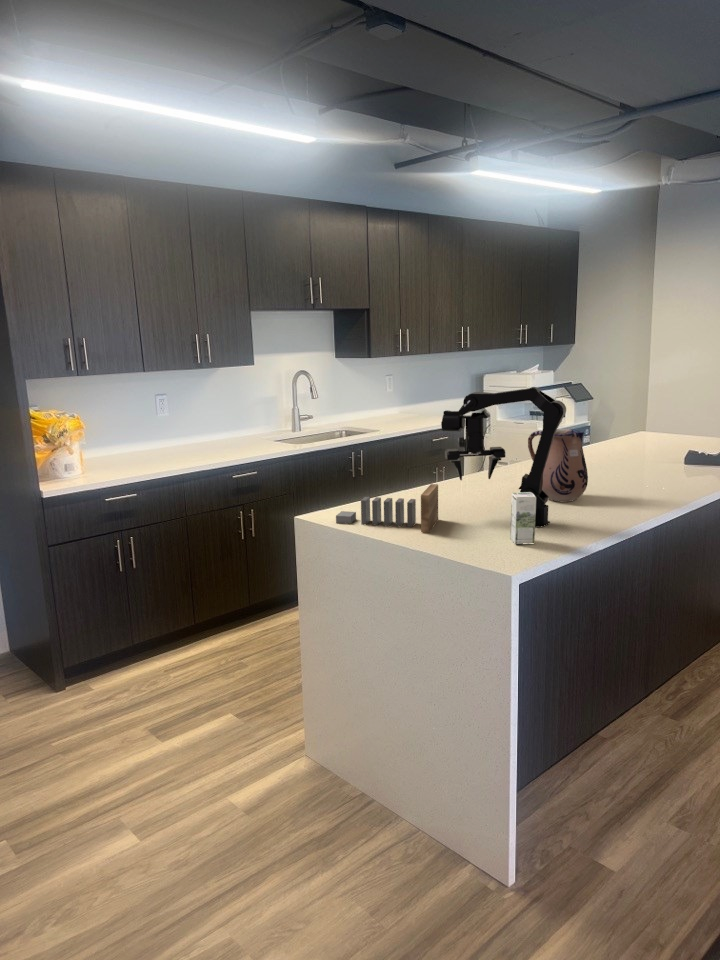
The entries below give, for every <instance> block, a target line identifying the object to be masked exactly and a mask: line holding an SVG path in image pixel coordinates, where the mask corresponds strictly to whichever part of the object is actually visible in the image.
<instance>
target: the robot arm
mask: <svg viewBox="0 0 720 960" xmlns="http://www.w3.org/2000/svg"><path fill="white" fill-rule="evenodd" d="M526 401H530V402H531V403H532V404H533V405H534V406H535V407H536V408H537V409H539V410H540V411H541V412H543V417H542V430H541V431H542V434H541V435H540V437H539V441H538V444H537V447H536V451H535V457H534V461H533V460H532V465H531V469H530V471H529V473H524V475H523V476H522V477H521V481H520V482H521V484H520V486H519V487H518V490H519V492H531V493H533V494H534V495H535V497H536V515H535V527H536V526H539V527H538V528H542V527H541V526H543V527H545V526H547V525H549V524H551V521H549V505H548V504H546V503H547V502H548V500H549V499H548V498H549V496H548V495H547V494H546V493H545V492H544V491H543V490H542V485H543V472H544V468H545V465H546V462H547V459H548V455H549V452H550V449H551V445H552V442H553V439H554V435H555V432H556V430H557V429H559V427H560V425H561V423H562V421H563V419H564V417H565V415H566V414H567V406H566V405H565V403H564V402H563V401H561V400H558V399H557V400H555V399H554V398H553V397H551V396H550V395H548V394H547V393H545V392H543V391H542V390H540V388H539V387H536V386H531V387H527V388H520V389H513V390H507V391H500V392H486V391H485V392H484V391H474V392H470V393H468V394H466V395H465V397H464V398H463V402H462V403H463V404H462V405H461V407H460V408H459V410H446V409H445V411H443V415H442V418H441V419H442V420H441V422H440V423H441V424H440V425H441V426H440V427H441V430H442V432H447V433H448V432H452V433H455V432H457V433H458V432H459V433H460V432H462V430H463V429H465V437H463V436H462V437H458V438H457V447H458V448H447V449H445V451H444V458H445V459H446V460H447V461H449V462H450V463H453V464H454V467H455V470H456V471H457V474H458V477H459V480H460V481H463V473H462V462H461V460H460V458H465V457H466V458H467V457H485V456H488V472H487V473H488V474H487V477H488V478H487V479H488V480H490V479H491V478H492V475H493V472H494V470H495V468H496V466H497V464H498V463H499V461H502V458H506V449H504V448H503V447H502V446H490V447H489V449H485V447H484V446H485V444H484V443H485V435H484V434H485V433H484V432H485V430H484V428H485V426H484V419H488V418H490V417H491V415H490V414H489V413H488V412H487V410H485V409H486V408H489V407H492V406H498V405H504V404H510V403H511V404H513V403H519V402H526ZM480 410H482V411H481V412H476V411H480ZM469 413H471V414H470V415H467V414H469ZM460 448H461V449H462V448H463V450H459V449H460ZM548 523H549V524H548ZM546 524H547V525H546ZM544 525H545V526H544Z"/></svg>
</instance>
